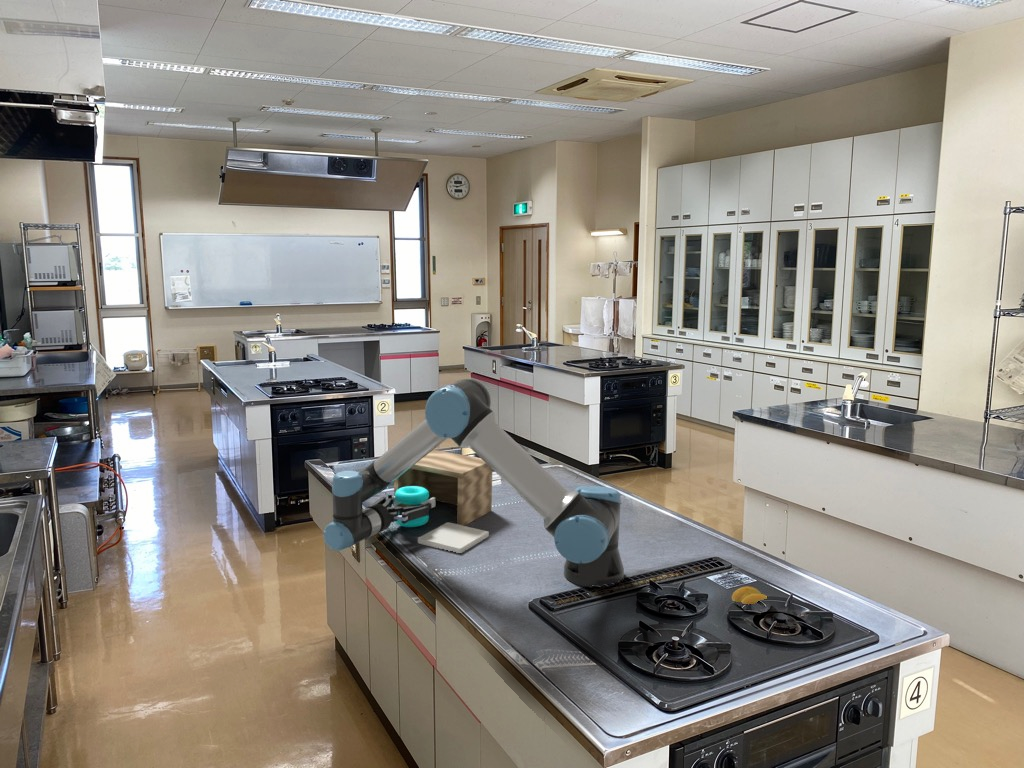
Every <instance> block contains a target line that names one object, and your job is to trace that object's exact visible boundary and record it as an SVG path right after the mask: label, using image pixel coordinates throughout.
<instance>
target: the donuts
mask: <svg viewBox="0 0 1024 768" xmlns="http://www.w3.org/2000/svg"><path fill="white" fill-rule="evenodd" d="M395 498H396V500H397V501H399V502H400V503H403V504H407V505H413V506H416V505H420V503H422V502H424V501H426V500H428V498H429V492H428V490H427V489H425V488H423V487H419V486H406V487H402V488H399V489H398V490H397V491H396V492H395ZM429 519H430V516H429V514H428V515H427V516H424V517H421V518H418V519H414V520H411V521H408V522H407V523H404V524H403V523H402V520H397V521H395V523H396V524H397V525H399V526H401V527H405V528H417V527H418V528H419V527H422V526H423V525H427V523H428V521H429Z"/></svg>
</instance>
